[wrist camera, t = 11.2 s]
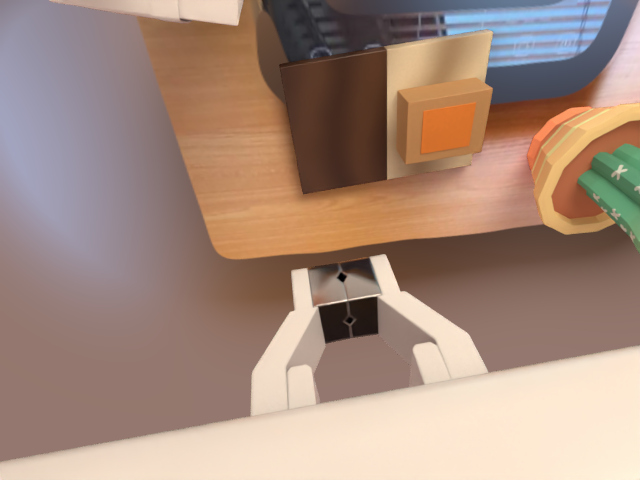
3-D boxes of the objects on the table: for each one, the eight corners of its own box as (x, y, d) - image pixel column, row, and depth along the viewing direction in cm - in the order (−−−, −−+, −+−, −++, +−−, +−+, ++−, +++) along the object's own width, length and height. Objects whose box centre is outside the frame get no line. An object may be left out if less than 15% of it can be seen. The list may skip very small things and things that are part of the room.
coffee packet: (476, 76, 36) (494, 88, 34) (466, 138, 41) (481, 152, 38) (397, 89, 36) (408, 102, 33) (396, 149, 40) (405, 165, 38)
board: (487, 28, 35) (493, 31, 34) (466, 160, 44) (471, 165, 43) (279, 63, 34) (279, 67, 34) (302, 189, 44) (302, 194, 43)
